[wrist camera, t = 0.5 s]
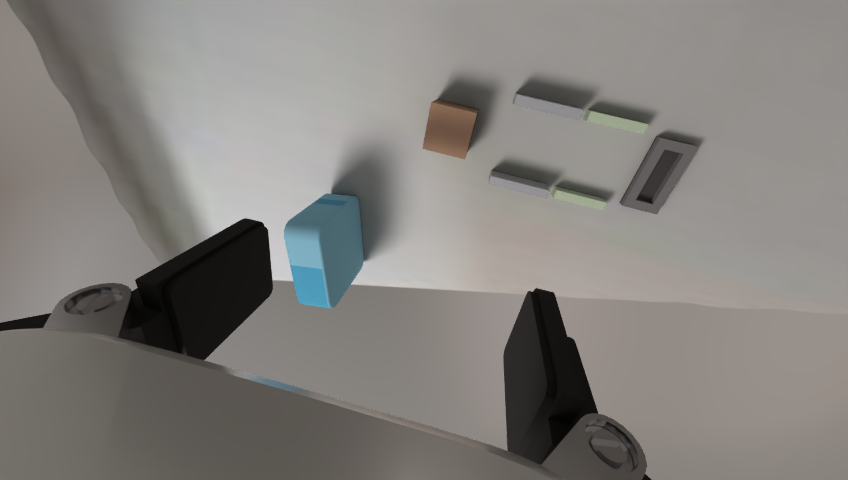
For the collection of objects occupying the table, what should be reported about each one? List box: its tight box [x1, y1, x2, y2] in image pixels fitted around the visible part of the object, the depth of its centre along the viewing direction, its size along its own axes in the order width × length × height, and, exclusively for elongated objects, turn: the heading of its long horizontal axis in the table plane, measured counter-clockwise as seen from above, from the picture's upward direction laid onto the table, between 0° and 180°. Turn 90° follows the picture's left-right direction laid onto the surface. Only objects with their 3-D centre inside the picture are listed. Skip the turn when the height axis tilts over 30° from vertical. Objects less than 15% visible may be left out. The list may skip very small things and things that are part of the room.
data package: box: [284, 194, 364, 308], centre depth 43 cm, size 12×4×12 cm, turn 179°
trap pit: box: [620, 136, 699, 214], centre depth 36 cm, size 8×4×1 cm, turn 169°
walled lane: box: [489, 93, 584, 198], centre depth 36 cm, size 10×7×2 cm
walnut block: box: [423, 100, 479, 159], centre depth 36 cm, size 5×5×4 cm
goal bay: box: [551, 110, 649, 210], centre depth 36 cm, size 10×6×2 cm, turn 169°
